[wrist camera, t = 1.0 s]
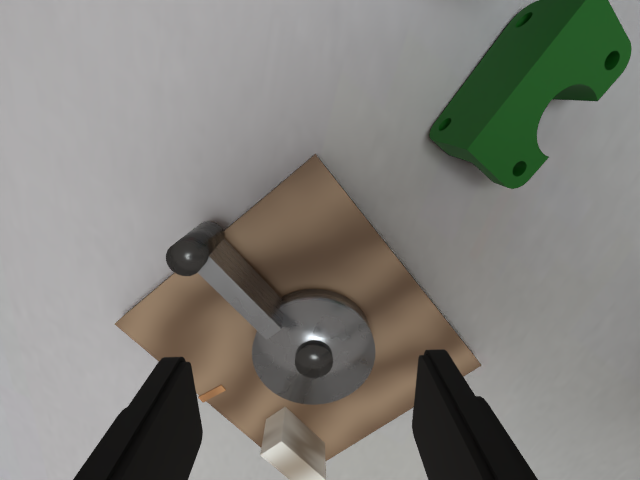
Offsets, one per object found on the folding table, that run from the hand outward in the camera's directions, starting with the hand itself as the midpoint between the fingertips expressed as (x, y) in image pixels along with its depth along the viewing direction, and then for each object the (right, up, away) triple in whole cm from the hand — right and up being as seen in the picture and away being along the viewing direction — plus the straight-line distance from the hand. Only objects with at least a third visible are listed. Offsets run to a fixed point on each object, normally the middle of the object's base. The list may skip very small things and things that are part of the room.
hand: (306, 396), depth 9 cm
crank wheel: (-3, -1, +17) cm, 17 cm away
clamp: (+14, +15, +14) cm, 25 cm away
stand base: (-1, -4, +20) cm, 20 cm away
